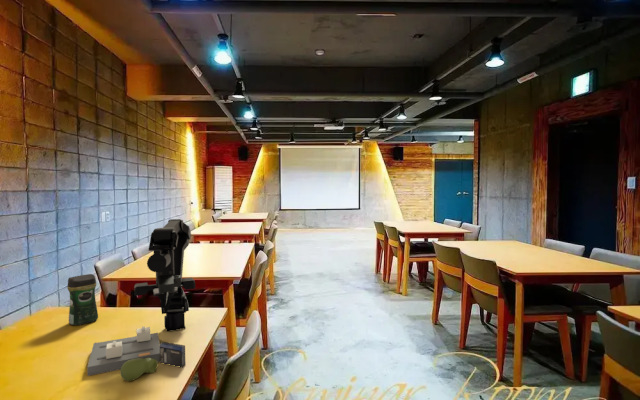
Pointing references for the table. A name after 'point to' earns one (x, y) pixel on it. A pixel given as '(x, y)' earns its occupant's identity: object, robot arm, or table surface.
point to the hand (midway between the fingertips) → (165, 311)
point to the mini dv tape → (172, 354)
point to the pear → (137, 368)
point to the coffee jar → (82, 299)
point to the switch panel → (129, 351)
